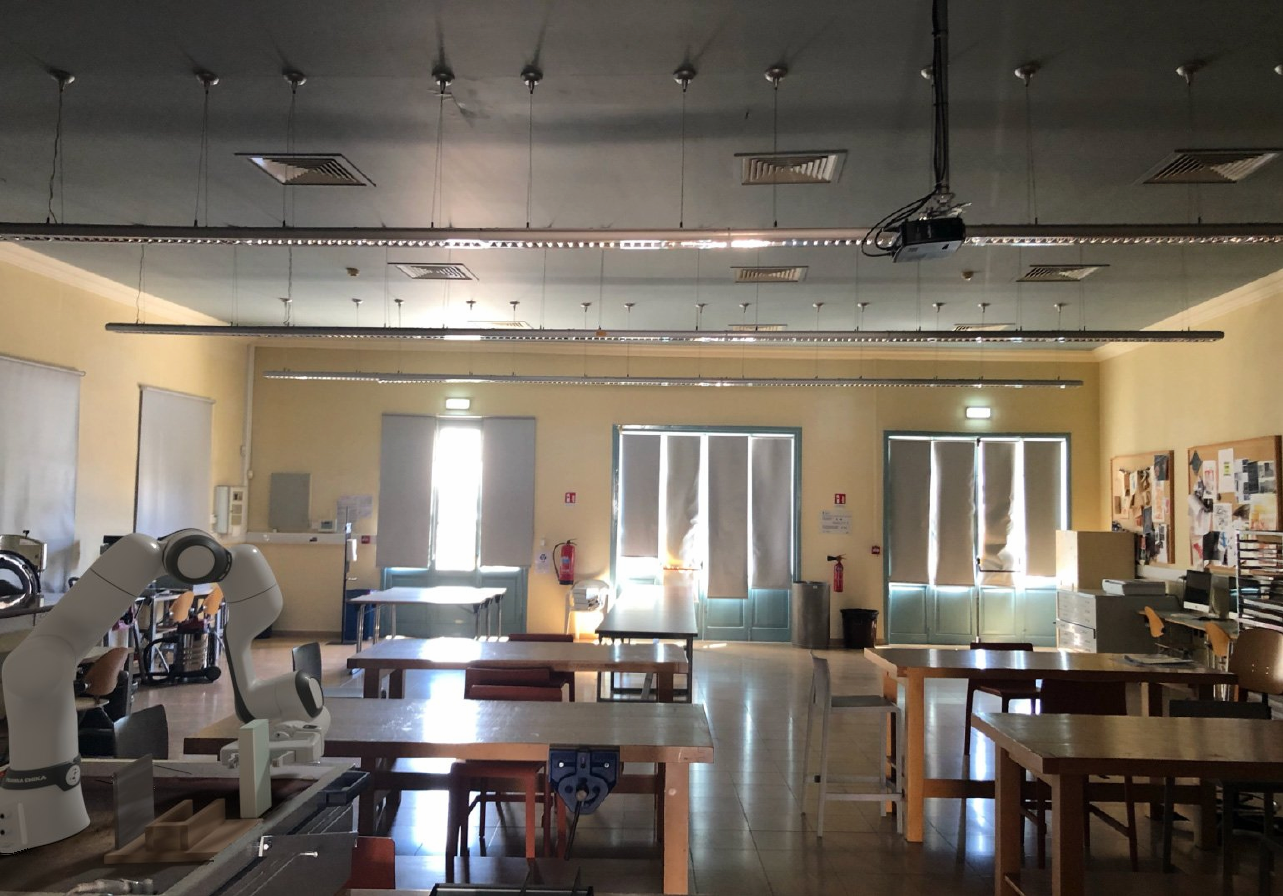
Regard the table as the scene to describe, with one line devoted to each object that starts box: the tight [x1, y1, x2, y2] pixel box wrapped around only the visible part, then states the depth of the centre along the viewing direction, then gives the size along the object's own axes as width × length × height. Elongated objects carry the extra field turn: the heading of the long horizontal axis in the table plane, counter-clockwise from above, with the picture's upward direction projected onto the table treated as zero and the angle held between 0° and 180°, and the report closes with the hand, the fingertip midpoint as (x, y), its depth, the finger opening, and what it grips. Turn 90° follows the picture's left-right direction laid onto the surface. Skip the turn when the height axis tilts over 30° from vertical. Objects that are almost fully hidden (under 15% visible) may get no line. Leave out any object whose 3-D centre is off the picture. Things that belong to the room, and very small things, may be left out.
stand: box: [103, 753, 264, 865], centre depth 154 cm, size 22×14×16 cm, turn 87°
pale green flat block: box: [237, 719, 272, 819], centre depth 167 cm, size 3×6×18 cm, turn 177°
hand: (253, 764), depth 167 cm, fingers open, 8 cm apart
